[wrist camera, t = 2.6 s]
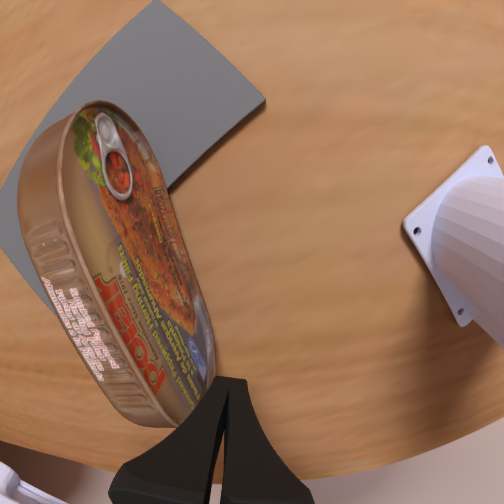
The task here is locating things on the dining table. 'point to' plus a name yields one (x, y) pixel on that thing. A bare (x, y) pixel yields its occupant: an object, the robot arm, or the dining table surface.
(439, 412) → the dining table surface
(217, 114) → the mat
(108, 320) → the tin
